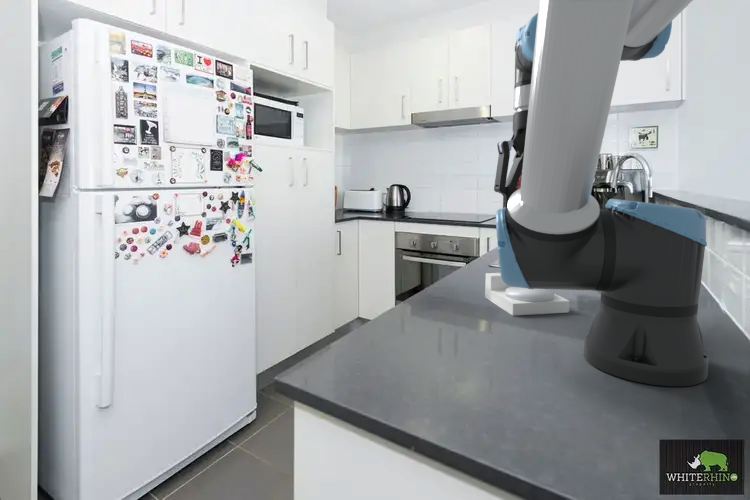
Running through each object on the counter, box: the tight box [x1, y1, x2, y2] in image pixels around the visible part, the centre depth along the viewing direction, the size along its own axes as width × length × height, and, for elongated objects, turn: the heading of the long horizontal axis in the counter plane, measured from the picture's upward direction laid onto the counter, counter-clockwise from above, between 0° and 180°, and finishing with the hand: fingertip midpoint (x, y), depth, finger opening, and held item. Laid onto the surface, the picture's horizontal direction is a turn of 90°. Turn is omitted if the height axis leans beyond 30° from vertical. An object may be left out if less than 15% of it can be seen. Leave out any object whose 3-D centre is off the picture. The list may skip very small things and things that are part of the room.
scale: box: [484, 272, 571, 317], centre depth 93 cm, size 14×12×6 cm
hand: (528, 227), depth 88 cm, fingers closed on soda can, 7 cm apart
